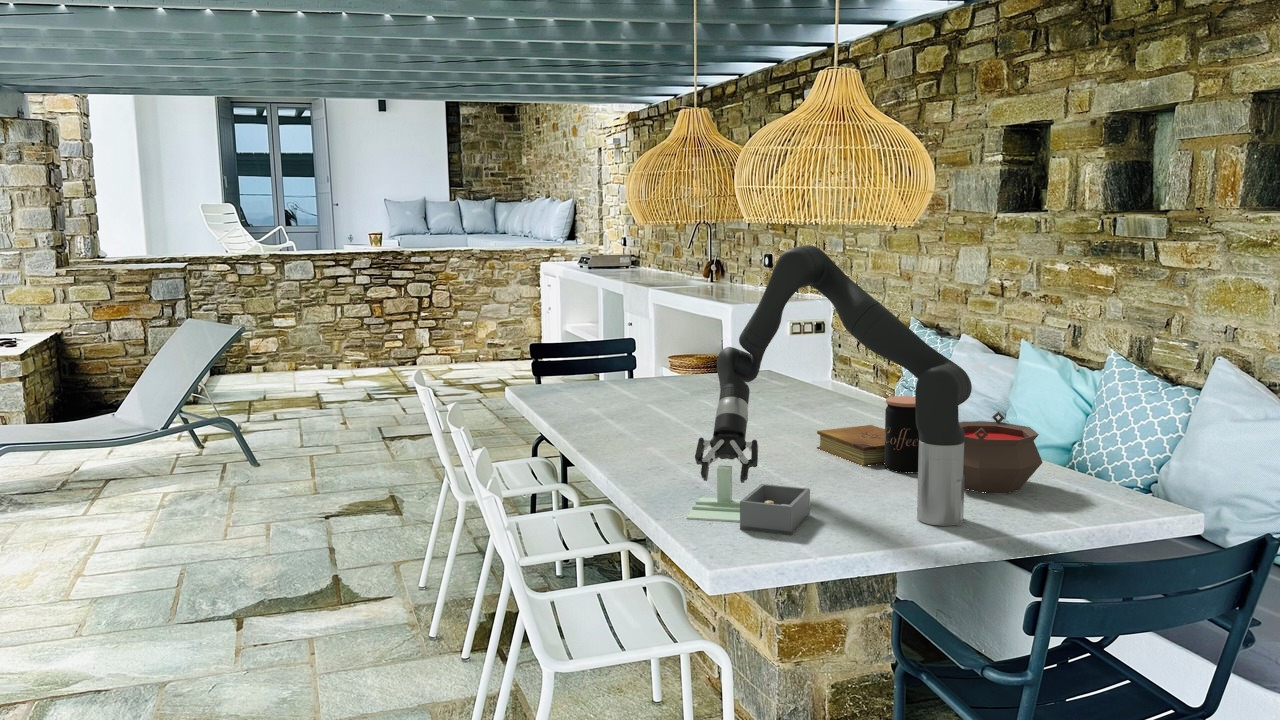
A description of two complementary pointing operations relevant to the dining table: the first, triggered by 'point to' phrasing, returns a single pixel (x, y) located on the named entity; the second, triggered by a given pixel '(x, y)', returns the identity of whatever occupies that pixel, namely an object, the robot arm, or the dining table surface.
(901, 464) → the coffee jar
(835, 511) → the dining table surface
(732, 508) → the lid
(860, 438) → the diary
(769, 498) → the tub
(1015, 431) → the brown faceted pot
